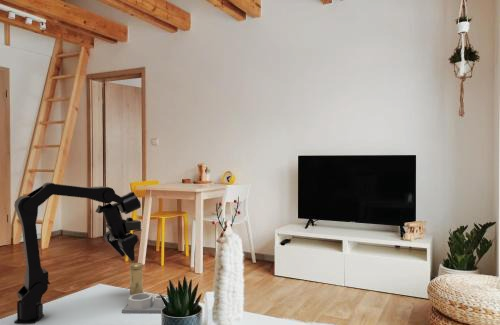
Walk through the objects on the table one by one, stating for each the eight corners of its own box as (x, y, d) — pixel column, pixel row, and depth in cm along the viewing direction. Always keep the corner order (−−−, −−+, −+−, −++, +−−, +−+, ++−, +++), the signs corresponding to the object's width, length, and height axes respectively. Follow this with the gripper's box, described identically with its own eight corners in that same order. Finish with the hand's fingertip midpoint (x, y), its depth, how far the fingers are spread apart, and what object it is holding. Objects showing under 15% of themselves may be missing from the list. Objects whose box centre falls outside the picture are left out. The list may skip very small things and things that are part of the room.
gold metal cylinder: (128, 300, 153) (127, 265, 153) (131, 296, 157) (131, 262, 157) (140, 300, 153) (140, 266, 153) (144, 296, 157) (144, 262, 157)
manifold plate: (121, 313, 140) (121, 301, 140) (130, 303, 149) (129, 292, 149) (169, 313, 140) (169, 301, 140) (175, 304, 149) (175, 292, 149)
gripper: (144, 213, 149) (158, 252, 153) (124, 208, 164) (137, 244, 167) (115, 226, 143) (130, 267, 146) (97, 220, 158) (111, 257, 161)
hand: (128, 258), depth 155 cm, fingers open, 9 cm apart
